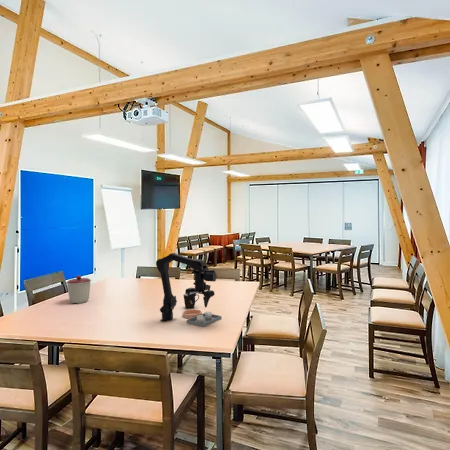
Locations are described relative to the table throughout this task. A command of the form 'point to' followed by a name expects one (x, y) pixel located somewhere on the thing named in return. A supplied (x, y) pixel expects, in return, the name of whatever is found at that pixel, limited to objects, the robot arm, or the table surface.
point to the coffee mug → (188, 302)
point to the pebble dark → (208, 315)
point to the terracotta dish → (191, 313)
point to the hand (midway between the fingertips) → (199, 306)
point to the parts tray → (206, 322)
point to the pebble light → (200, 319)
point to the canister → (78, 289)
